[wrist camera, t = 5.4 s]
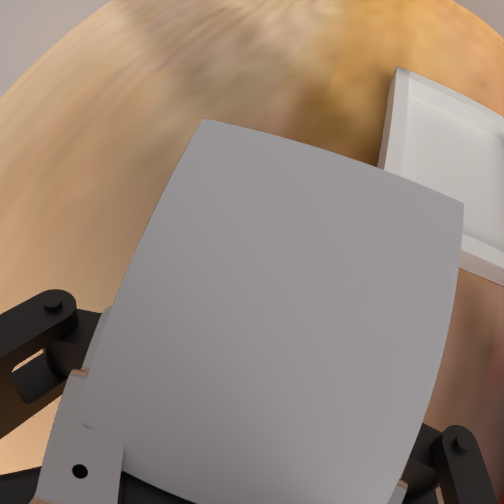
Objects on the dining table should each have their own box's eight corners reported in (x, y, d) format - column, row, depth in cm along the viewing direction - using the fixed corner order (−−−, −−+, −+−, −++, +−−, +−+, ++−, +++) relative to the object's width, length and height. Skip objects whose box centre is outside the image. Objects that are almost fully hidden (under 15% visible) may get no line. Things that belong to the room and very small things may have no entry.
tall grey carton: (333, 305, 16) (464, 203, 5) (295, 415, 15) (366, 540, 3) (242, 274, 17) (203, 117, 6) (201, 383, 15) (69, 438, 4)
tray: (511, 144, 19) (524, 130, 17) (516, 291, 16) (537, 284, 14) (389, 85, 21) (396, 65, 19) (363, 231, 17) (375, 216, 15)
